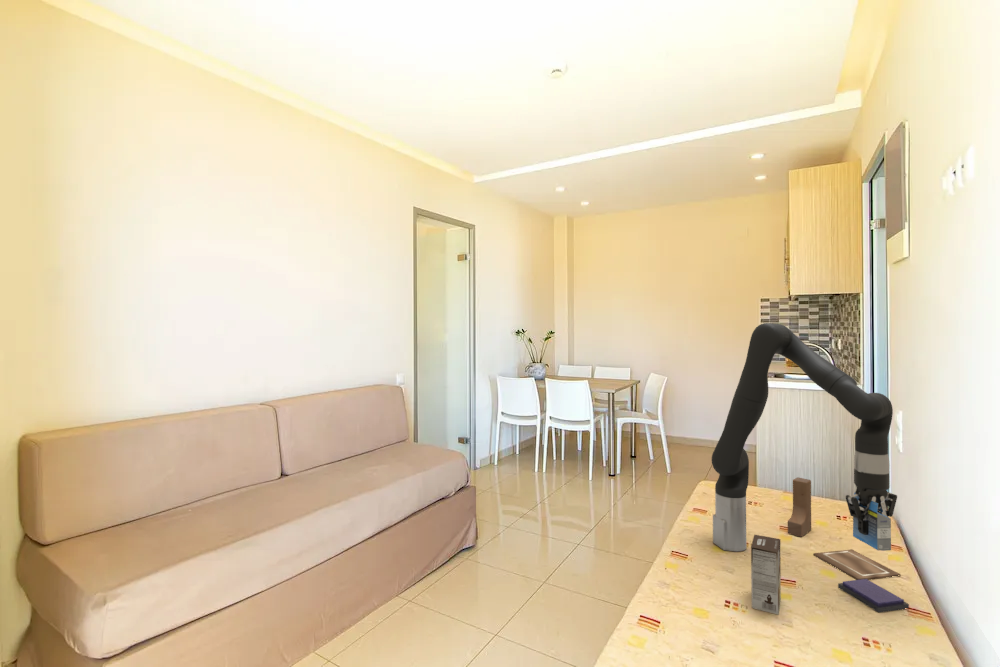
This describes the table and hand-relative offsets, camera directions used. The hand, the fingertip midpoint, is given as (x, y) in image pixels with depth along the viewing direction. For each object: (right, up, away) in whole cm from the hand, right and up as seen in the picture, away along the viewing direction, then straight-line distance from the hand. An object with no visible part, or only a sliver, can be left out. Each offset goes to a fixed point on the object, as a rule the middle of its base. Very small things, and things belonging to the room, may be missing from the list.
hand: (871, 532), depth 130 cm
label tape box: (0, -3, 0) cm, 3 cm away
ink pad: (0, -17, 0) cm, 17 cm away
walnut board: (+8, -17, +18) cm, 26 cm away
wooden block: (+6, -17, +42) cm, 46 cm away
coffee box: (-29, -18, -2) cm, 34 cm away
